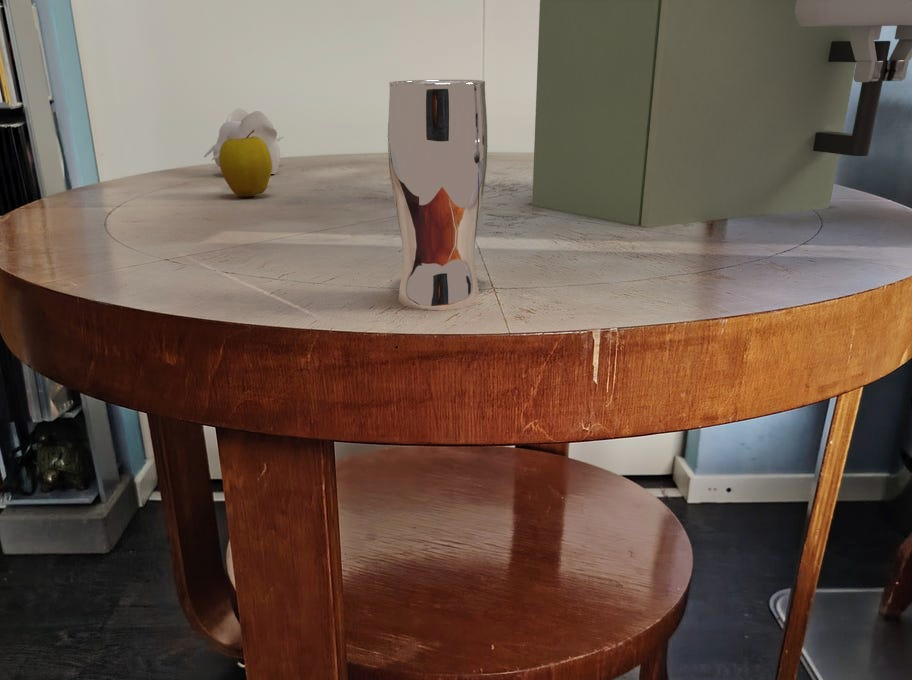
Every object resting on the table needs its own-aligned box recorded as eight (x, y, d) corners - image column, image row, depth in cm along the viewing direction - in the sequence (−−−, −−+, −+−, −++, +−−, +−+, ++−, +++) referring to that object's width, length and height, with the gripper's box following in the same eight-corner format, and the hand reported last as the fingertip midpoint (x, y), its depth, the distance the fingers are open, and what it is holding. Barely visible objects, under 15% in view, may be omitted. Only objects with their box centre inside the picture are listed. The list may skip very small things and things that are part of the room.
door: (872, 225, 92) (929, -45, 81) (685, 248, 83) (719, -53, 72) (820, 215, 97) (866, -39, 87) (639, 235, 89) (665, -46, 78)
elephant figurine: (200, 173, 136) (192, 109, 132) (276, 168, 141) (271, 106, 137) (218, 181, 128) (210, 113, 124) (297, 175, 133) (292, 109, 129)
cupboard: (788, 211, 101) (829, -38, 90) (636, 237, 89) (662, -47, 78) (678, 194, 113) (702, -28, 102) (531, 215, 100) (540, -35, 89)
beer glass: (428, 285, 72) (425, 78, 65) (502, 297, 68) (507, 79, 62) (373, 304, 67) (364, 82, 60) (451, 318, 63) (450, 84, 57)
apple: (285, 195, 116) (279, 128, 112) (247, 202, 111) (239, 132, 107) (251, 191, 119) (245, 126, 115) (213, 197, 115) (205, 130, 111)
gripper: (849, -104, 72) (818, 85, 79) (1026, -94, 79) (984, 79, 86) (793, -94, 77) (768, 83, 84) (964, -86, 84) (928, 77, 91)
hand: (878, 81), depth 85 cm, fingers closed on door, 2 cm apart
